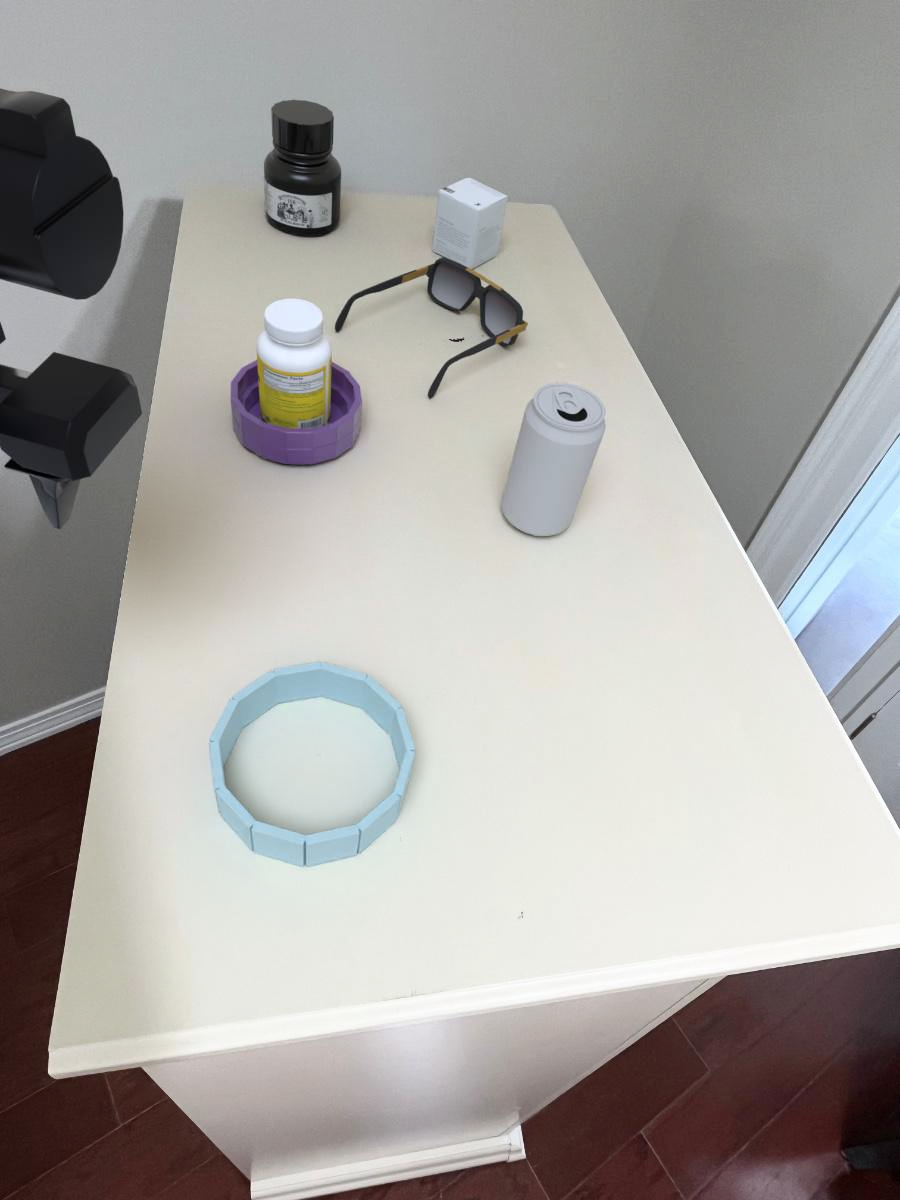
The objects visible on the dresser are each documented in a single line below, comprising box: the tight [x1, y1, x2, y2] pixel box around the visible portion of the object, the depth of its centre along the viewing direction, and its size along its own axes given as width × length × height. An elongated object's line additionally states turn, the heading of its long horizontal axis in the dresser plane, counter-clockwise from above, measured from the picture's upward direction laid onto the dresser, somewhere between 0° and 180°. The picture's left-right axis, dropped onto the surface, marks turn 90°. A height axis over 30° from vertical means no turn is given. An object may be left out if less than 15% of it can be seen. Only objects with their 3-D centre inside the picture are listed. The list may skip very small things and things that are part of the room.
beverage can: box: [500, 382, 607, 537], centre depth 65 cm, size 6×6×12 cm
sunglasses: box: [334, 257, 529, 400], centre depth 82 cm, size 14×15×5 cm
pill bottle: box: [256, 297, 333, 429], centre depth 68 cm, size 6×6×11 cm
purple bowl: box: [230, 359, 363, 466], centre depth 71 cm, size 11×11×4 cm
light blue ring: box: [208, 661, 416, 868], centre depth 50 cm, size 12×12×4 cm
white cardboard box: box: [431, 177, 509, 270], centre depth 94 cm, size 6×6×7 cm
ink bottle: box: [263, 99, 342, 237], centre depth 92 cm, size 10×9×12 cm
